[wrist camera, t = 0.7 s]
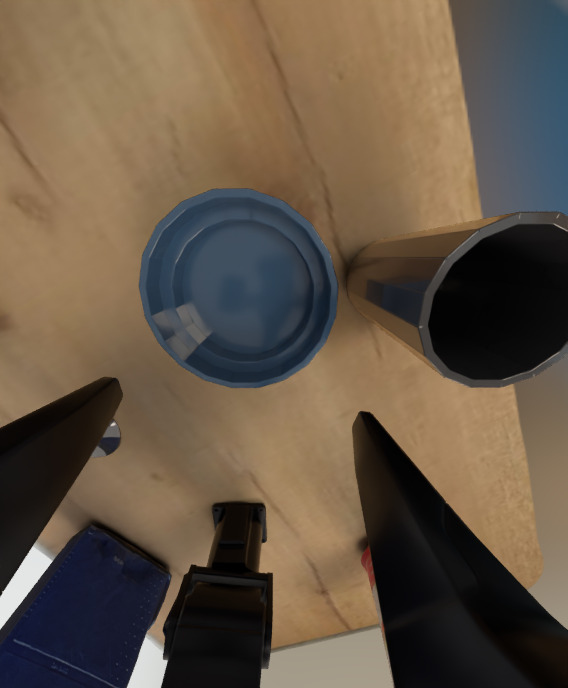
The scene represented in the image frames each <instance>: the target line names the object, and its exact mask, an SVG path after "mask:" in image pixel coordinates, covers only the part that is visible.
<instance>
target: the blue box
mask: <svg viewBox="0 0 568 688" xmlns="http://www.w3.org/2000/svg"><path fill="white" fill-rule="evenodd" d="M171 577H172V575H171V574H170V573H169V571H167V570H166V569H165V568H164V567H162V566H161V565H159V564H158V563H156V562H155V561H153V560H152V559H151V558H150V557H148V556H147V555H145V554H144V553H143V552H141V551H140V550H138V549H137V548H135V547H134V546H132V545H130V544H128V543H126V542H125V541H123V540H121V539H119V538H118V537H117V536H115V535H114V534H113V533H110V532H108V531H106V530H103V529H99V528H97V527H95V526H93V525H89V526H88V527H86V528H85V529H83V530H81V531H80V532H79V533H77V534H76V535H74V536H73V537H72V538H71V539H70V540H69V542H68V543H67V544H66V546H65V547H64V548H63V549H62V551H61V552H60V553H59V554H58V555H57V556H56V558H55V559H54V560H53V562H52V563H51V564H50V566H49V567H48V569H47V570H46V571H45V572H44V574H43V575H42V576H41V578H40V579H39V580H38V582H37V583H36V584H35V585H34V587H33V588H32V590H31V591H30V592H29V593H28V595H27V596H26V597H25V599H24V600H23V601H22V603H21V604H20V605H19V606H18V608H17V609H16V610H15V612H14V613H13V614H12V615H11V617H10V618H9V619H8V621H7V622H6V623H5V625H4V626H3V627H2V628H1V630H0V688H127V685H128V683H129V680H130V677H131V675H132V672H133V670H134V667H135V664H136V661H137V659H138V655H139V652H140V649H141V646H142V643H143V641H144V638H145V635H146V633H147V631H148V630H149V629H150V628H151V626H152V625H153V624H154V622H155V620H156V618H157V616H158V613H159V611H160V609H161V606H162V604H163V602H164V599H165V596H166V593H167V590H168V587H169V585H170V581H171Z"/></svg>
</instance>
